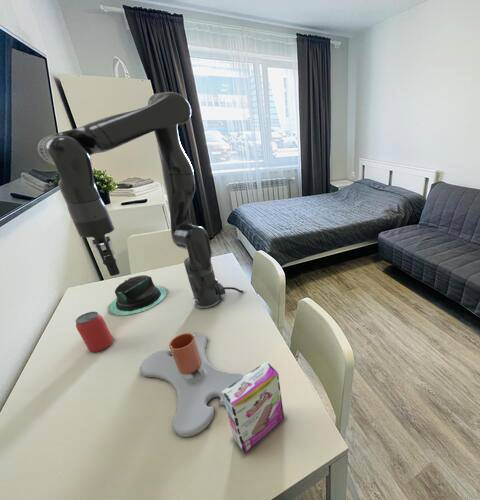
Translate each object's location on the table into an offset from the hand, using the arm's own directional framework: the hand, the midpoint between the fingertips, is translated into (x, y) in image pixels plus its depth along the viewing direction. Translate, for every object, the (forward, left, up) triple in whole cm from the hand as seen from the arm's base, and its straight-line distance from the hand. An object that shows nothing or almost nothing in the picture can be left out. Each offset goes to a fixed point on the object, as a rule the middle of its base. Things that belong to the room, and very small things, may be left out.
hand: (113, 269), depth 79 cm
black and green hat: (-3, -30, -28) cm, 41 cm away
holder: (-8, +27, -28) cm, 40 cm away
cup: (-8, +27, -23) cm, 36 cm away
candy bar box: (-15, +53, -28) cm, 62 cm away
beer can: (+11, -8, -28) cm, 31 cm away
